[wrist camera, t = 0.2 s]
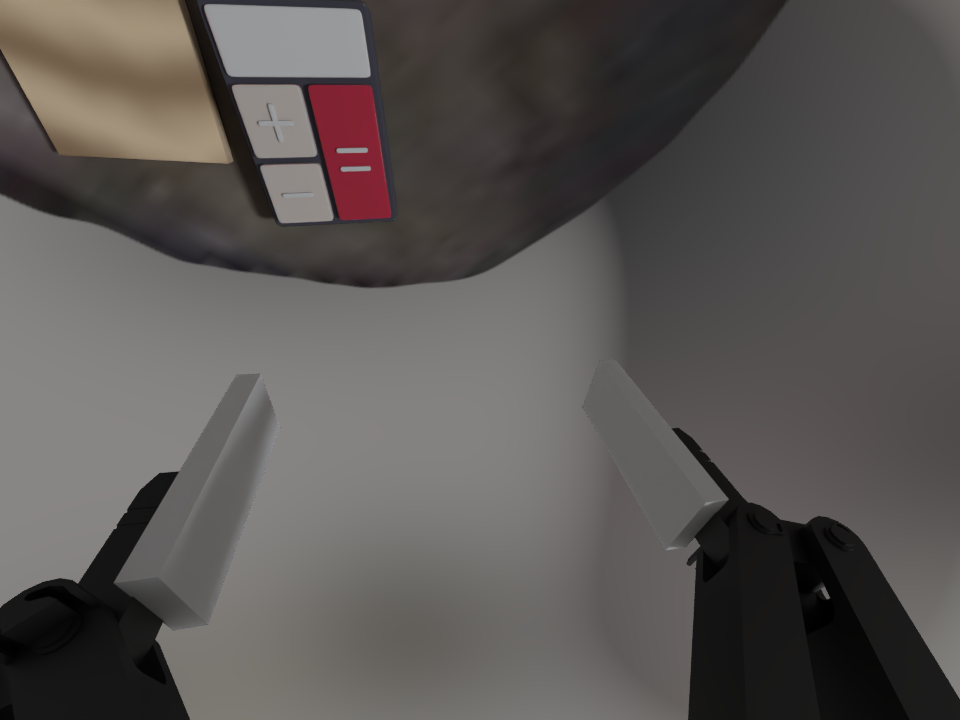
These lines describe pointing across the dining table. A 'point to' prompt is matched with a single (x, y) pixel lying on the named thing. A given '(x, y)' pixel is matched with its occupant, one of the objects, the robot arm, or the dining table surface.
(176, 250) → the dining table surface
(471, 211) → the dining table surface
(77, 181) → the dining table surface
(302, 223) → the calculator
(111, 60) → the wooden board
